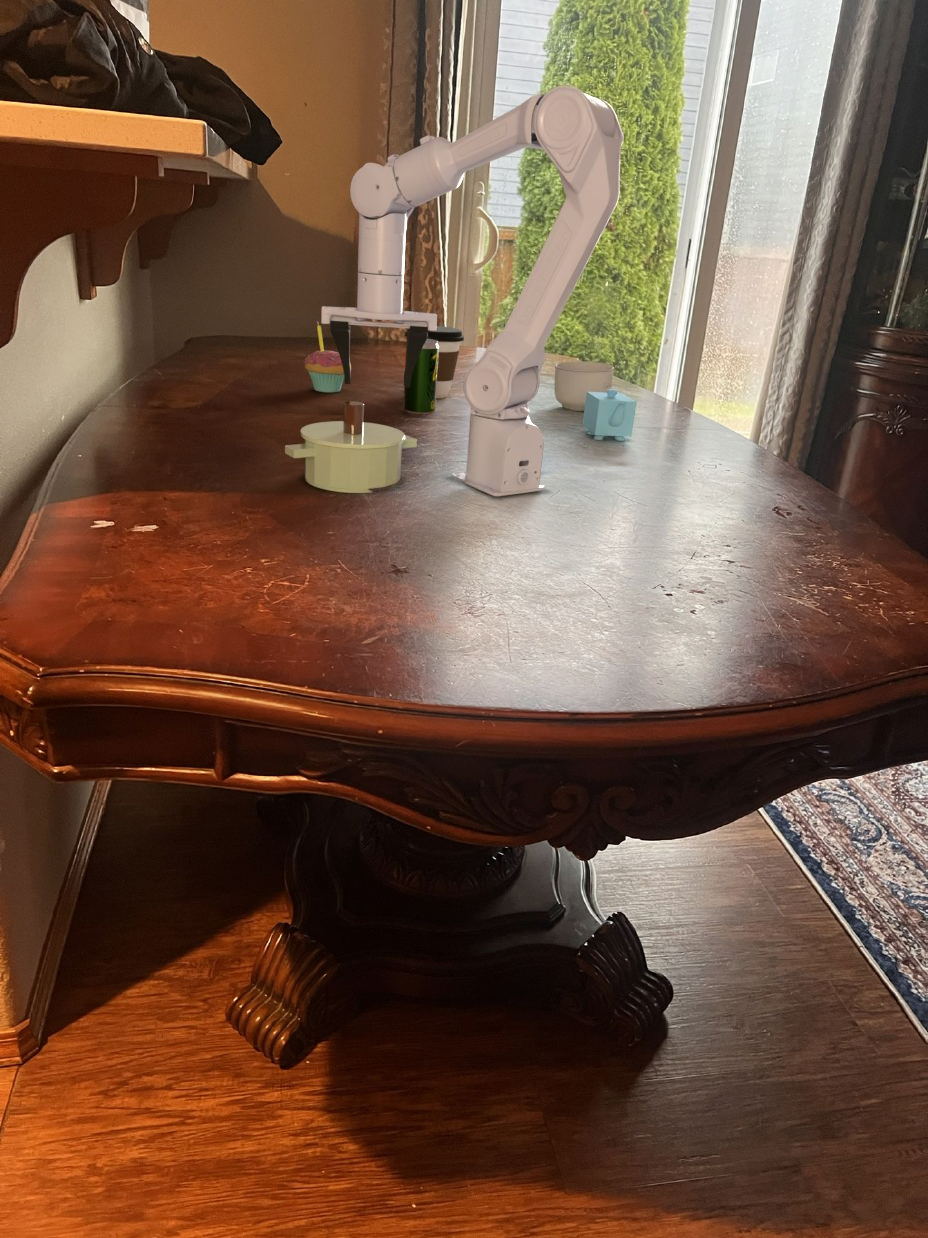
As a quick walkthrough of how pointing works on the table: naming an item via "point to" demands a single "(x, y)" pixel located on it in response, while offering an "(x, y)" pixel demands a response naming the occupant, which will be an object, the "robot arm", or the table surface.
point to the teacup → (580, 382)
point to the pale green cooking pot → (350, 465)
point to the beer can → (423, 381)
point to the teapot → (609, 414)
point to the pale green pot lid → (352, 431)
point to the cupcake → (325, 368)
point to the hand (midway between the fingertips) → (377, 384)
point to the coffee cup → (445, 356)
